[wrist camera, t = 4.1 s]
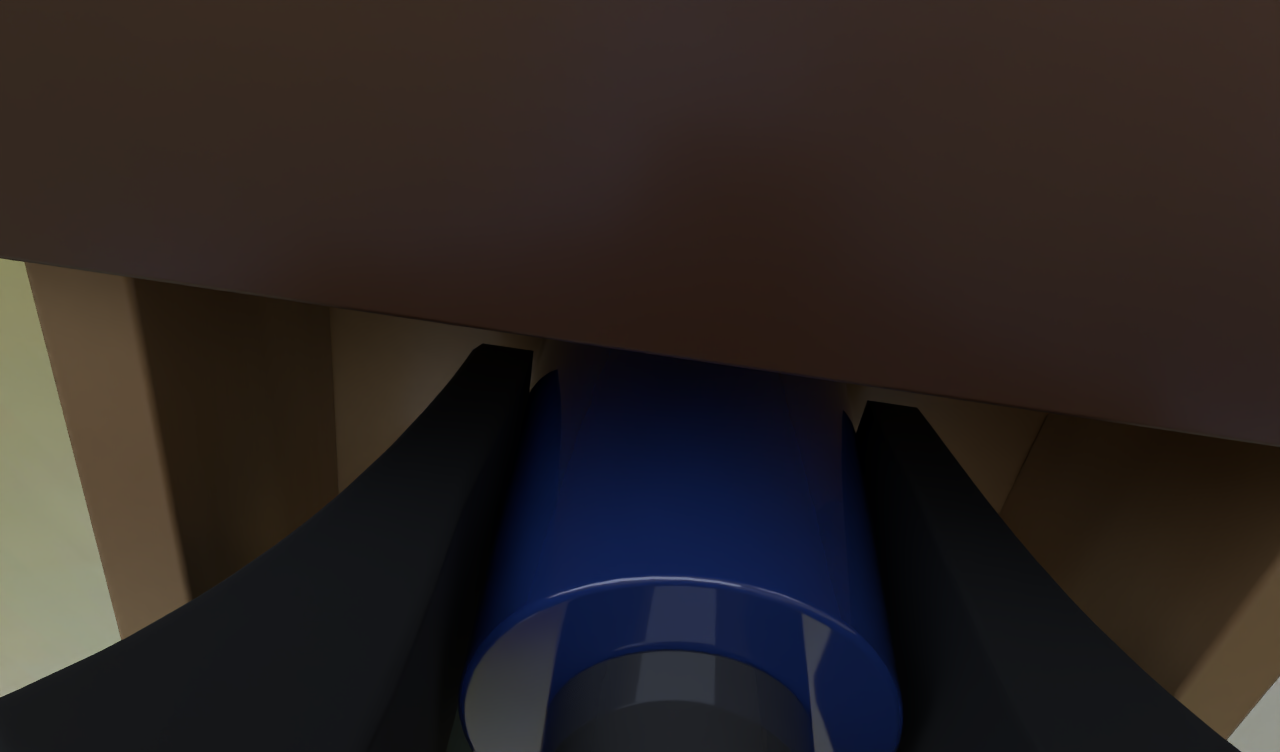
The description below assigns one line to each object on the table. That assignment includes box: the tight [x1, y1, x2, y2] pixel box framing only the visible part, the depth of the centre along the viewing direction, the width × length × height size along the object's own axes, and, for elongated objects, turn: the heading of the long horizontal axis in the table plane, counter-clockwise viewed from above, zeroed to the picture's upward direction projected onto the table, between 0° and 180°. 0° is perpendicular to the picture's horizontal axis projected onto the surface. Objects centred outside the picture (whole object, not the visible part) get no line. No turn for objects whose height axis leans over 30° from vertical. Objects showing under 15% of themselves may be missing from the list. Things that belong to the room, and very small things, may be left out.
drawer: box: [25, 262, 1280, 752], centre depth 13 cm, size 18×12×6 cm
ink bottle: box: [457, 338, 904, 752], centre depth 10 cm, size 4×4×7 cm
